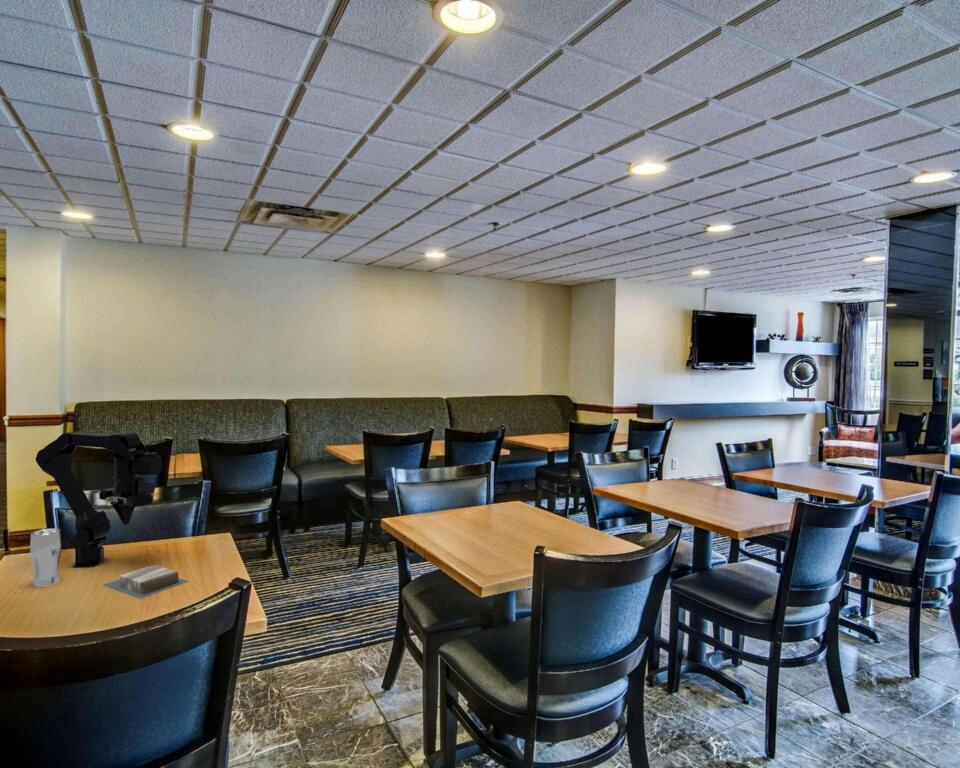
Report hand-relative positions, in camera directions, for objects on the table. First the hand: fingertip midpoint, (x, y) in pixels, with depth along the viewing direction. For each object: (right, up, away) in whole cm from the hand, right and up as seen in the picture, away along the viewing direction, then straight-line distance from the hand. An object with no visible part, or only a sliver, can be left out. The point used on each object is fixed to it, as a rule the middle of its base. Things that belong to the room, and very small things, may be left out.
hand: (126, 524), depth 176 cm
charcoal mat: (+14, -14, -13) cm, 24 cm away
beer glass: (-14, -14, -14) cm, 24 cm away
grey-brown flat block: (+11, -12, -12) cm, 20 cm away
